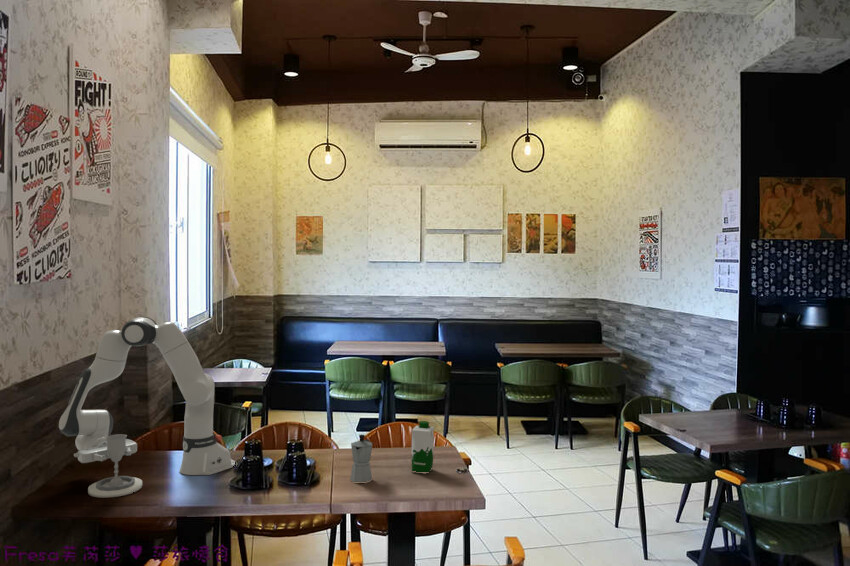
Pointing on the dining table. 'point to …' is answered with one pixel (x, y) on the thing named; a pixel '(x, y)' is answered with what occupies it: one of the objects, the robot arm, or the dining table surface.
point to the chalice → (116, 454)
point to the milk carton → (422, 447)
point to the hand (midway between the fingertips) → (116, 455)
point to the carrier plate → (115, 487)
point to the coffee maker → (361, 460)
